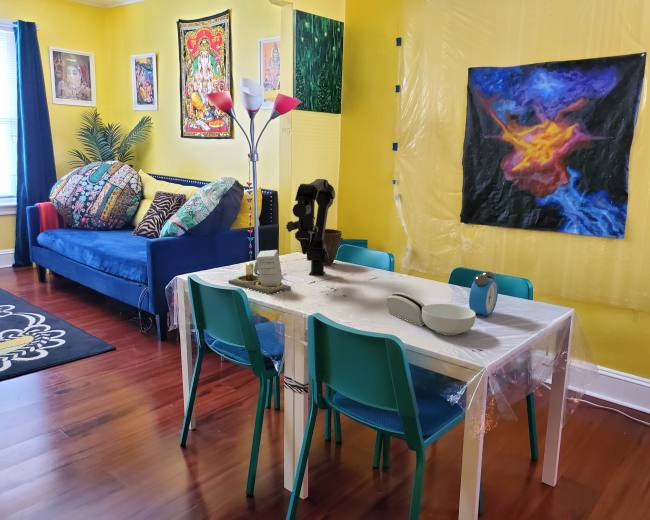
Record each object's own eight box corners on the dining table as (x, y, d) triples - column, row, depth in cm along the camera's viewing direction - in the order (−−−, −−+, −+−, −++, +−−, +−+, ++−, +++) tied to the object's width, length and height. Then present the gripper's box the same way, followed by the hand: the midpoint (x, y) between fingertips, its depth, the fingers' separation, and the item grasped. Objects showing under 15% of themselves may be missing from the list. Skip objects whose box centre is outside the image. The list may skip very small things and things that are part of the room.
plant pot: (329, 259, 279) (330, 227, 276) (346, 265, 267) (347, 232, 264) (304, 262, 271) (305, 229, 268) (320, 268, 259) (321, 234, 256)
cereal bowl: (485, 334, 176) (487, 313, 175) (449, 344, 167) (451, 322, 165) (445, 320, 190) (446, 300, 188) (409, 328, 180) (411, 307, 179)
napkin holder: (433, 324, 185) (427, 298, 181) (423, 331, 182) (417, 305, 178) (399, 310, 198) (393, 286, 194) (389, 317, 196) (383, 292, 192)
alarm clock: (483, 320, 190) (487, 277, 187) (466, 316, 194) (470, 274, 191) (496, 311, 201) (500, 271, 197) (480, 308, 204) (483, 268, 201)
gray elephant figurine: (249, 274, 245) (249, 257, 243) (269, 268, 254) (268, 252, 252) (264, 278, 239) (264, 261, 237) (283, 272, 248) (283, 256, 246)
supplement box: (265, 279, 226) (260, 250, 222) (283, 278, 225) (278, 249, 220) (261, 287, 219) (255, 257, 215) (279, 285, 218) (274, 255, 213)
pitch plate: (228, 283, 228) (228, 263, 226) (250, 278, 237) (250, 259, 235) (269, 294, 213) (269, 274, 211) (291, 289, 222) (291, 269, 220)
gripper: (293, 211, 237) (292, 246, 240) (282, 216, 219) (282, 255, 222) (318, 212, 235) (317, 248, 239) (310, 218, 217) (309, 257, 221)
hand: (306, 252), depth 230 cm, fingers open, 9 cm apart
